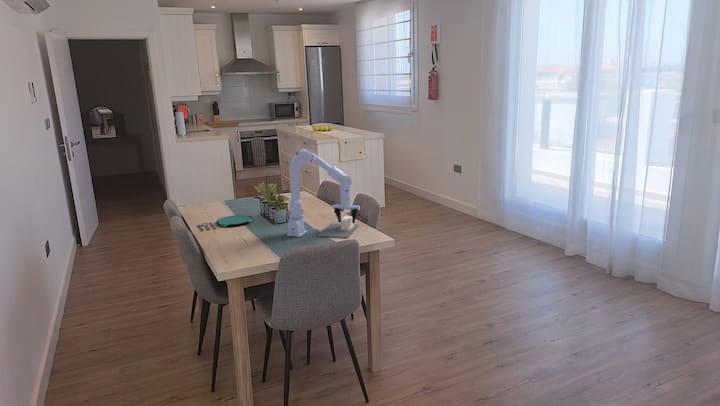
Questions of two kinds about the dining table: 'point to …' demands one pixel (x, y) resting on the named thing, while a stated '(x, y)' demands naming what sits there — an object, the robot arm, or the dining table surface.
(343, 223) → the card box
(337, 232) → the mat
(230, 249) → the dining table surface
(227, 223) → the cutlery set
